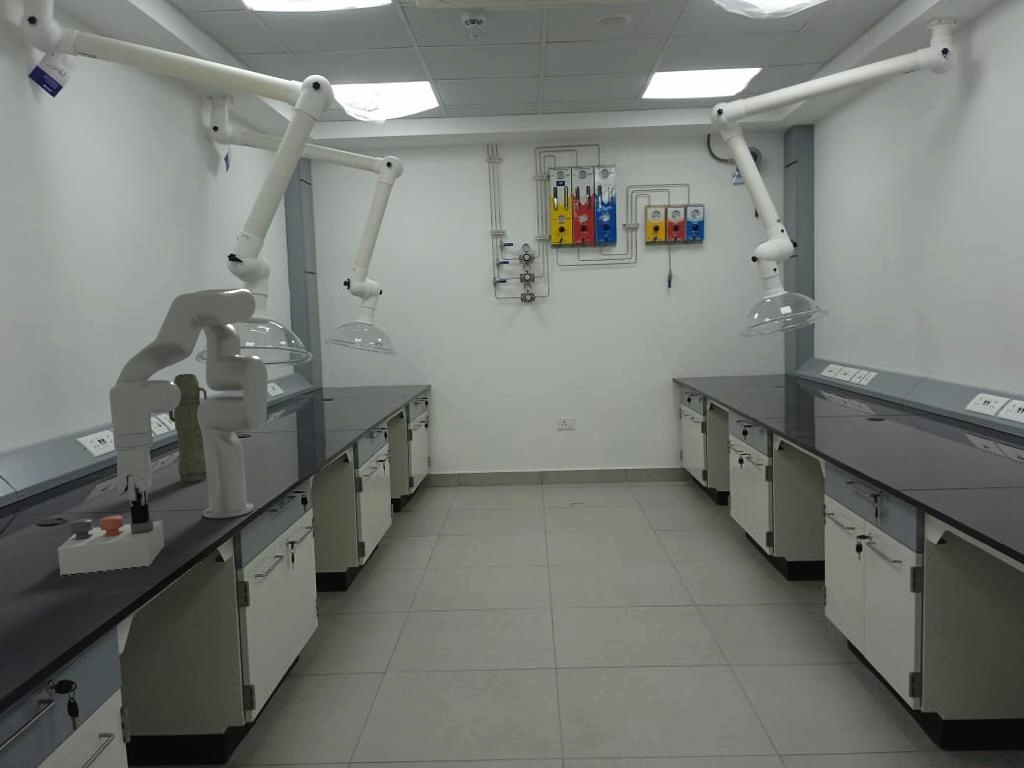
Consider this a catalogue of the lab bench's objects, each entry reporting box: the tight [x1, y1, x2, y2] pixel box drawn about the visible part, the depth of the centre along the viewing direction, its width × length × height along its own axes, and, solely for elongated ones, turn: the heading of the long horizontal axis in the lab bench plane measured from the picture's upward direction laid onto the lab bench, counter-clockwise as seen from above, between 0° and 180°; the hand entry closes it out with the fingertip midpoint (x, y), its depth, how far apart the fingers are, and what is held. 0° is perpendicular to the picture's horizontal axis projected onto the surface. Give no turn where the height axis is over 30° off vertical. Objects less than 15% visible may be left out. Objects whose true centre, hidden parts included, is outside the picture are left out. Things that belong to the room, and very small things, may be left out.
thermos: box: [168, 373, 208, 483], centre depth 233 cm, size 9×12×35 cm
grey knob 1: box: [68, 517, 94, 540], centre depth 155 cm, size 4×4×6 cm
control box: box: [57, 520, 165, 576], centre depth 156 cm, size 14×17×6 cm
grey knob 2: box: [130, 518, 154, 534], centre depth 158 cm, size 4×4×6 cm
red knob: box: [99, 515, 124, 537], centre depth 156 cm, size 4×4×6 cm
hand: (140, 522), depth 157 cm, fingers closed
